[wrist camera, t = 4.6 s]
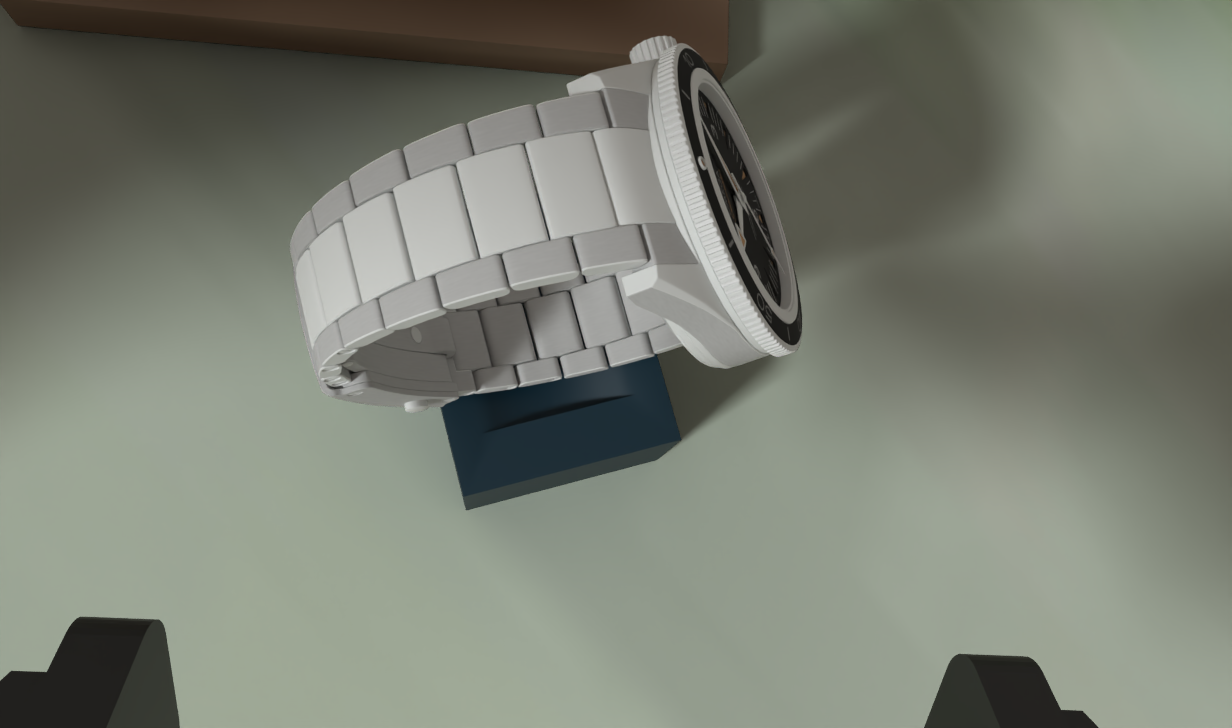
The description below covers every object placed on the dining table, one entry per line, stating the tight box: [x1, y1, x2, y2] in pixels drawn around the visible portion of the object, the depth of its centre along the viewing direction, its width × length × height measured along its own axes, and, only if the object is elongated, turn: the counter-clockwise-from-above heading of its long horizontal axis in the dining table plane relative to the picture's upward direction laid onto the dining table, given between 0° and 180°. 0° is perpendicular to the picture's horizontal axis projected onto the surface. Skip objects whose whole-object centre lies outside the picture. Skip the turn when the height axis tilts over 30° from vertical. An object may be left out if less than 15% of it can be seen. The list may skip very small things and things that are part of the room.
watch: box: [290, 36, 802, 510], centre depth 19 cm, size 6×8×11 cm
